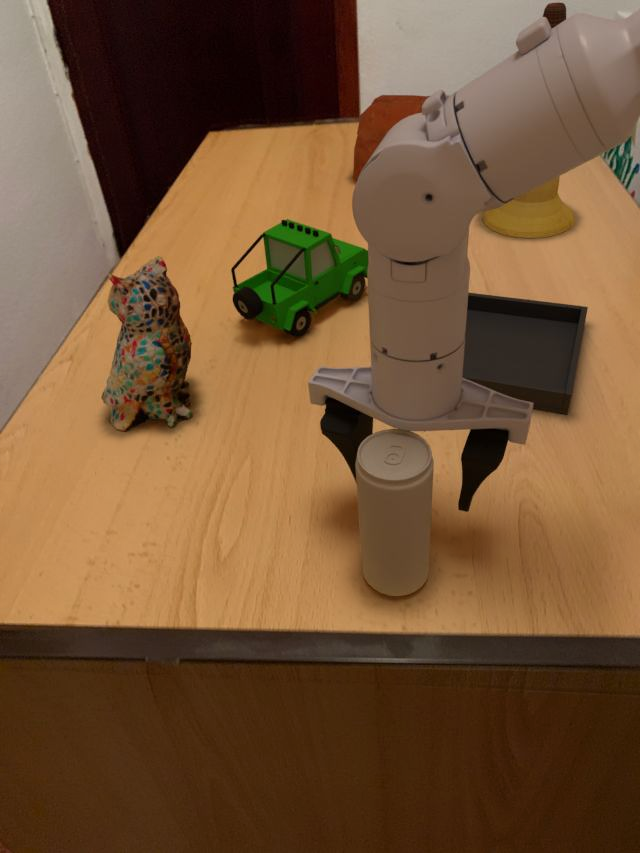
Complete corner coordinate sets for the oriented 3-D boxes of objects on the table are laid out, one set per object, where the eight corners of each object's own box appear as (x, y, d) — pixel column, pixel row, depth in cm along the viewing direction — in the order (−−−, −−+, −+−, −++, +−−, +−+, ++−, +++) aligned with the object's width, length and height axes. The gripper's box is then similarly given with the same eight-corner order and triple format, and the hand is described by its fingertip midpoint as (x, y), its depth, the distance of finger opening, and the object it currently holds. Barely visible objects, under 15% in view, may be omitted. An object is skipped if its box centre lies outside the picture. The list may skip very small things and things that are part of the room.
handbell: (592, 230, 86) (636, 5, 69) (500, 243, 85) (524, 20, 68) (552, 194, 95) (583, -11, 79) (469, 206, 94) (483, 2, 78)
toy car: (377, 290, 78) (375, 209, 72) (274, 357, 70) (260, 272, 63) (326, 271, 83) (319, 193, 77) (223, 331, 74) (205, 250, 68)
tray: (583, 325, 69) (588, 306, 68) (567, 414, 59) (571, 394, 58) (442, 307, 74) (443, 289, 73) (404, 386, 64) (404, 367, 63)
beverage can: (355, 593, 47) (345, 475, 39) (371, 541, 50) (365, 422, 42) (422, 606, 45) (426, 487, 38) (434, 552, 49) (440, 432, 41)
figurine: (136, 375, 69) (92, 243, 59) (216, 381, 67) (184, 245, 57) (99, 429, 63) (43, 291, 53) (185, 437, 61) (144, 295, 51)
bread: (371, 151, 115) (369, 85, 108) (530, 155, 107) (539, 84, 100) (346, 186, 104) (342, 115, 97) (521, 193, 96) (530, 116, 89)
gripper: (551, 316, 40) (523, 473, 49) (329, 287, 45) (341, 435, 54) (533, 384, 35) (506, 544, 44) (287, 344, 40) (308, 496, 49)
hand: (414, 489), depth 49 cm, fingers open, 7 cm apart
